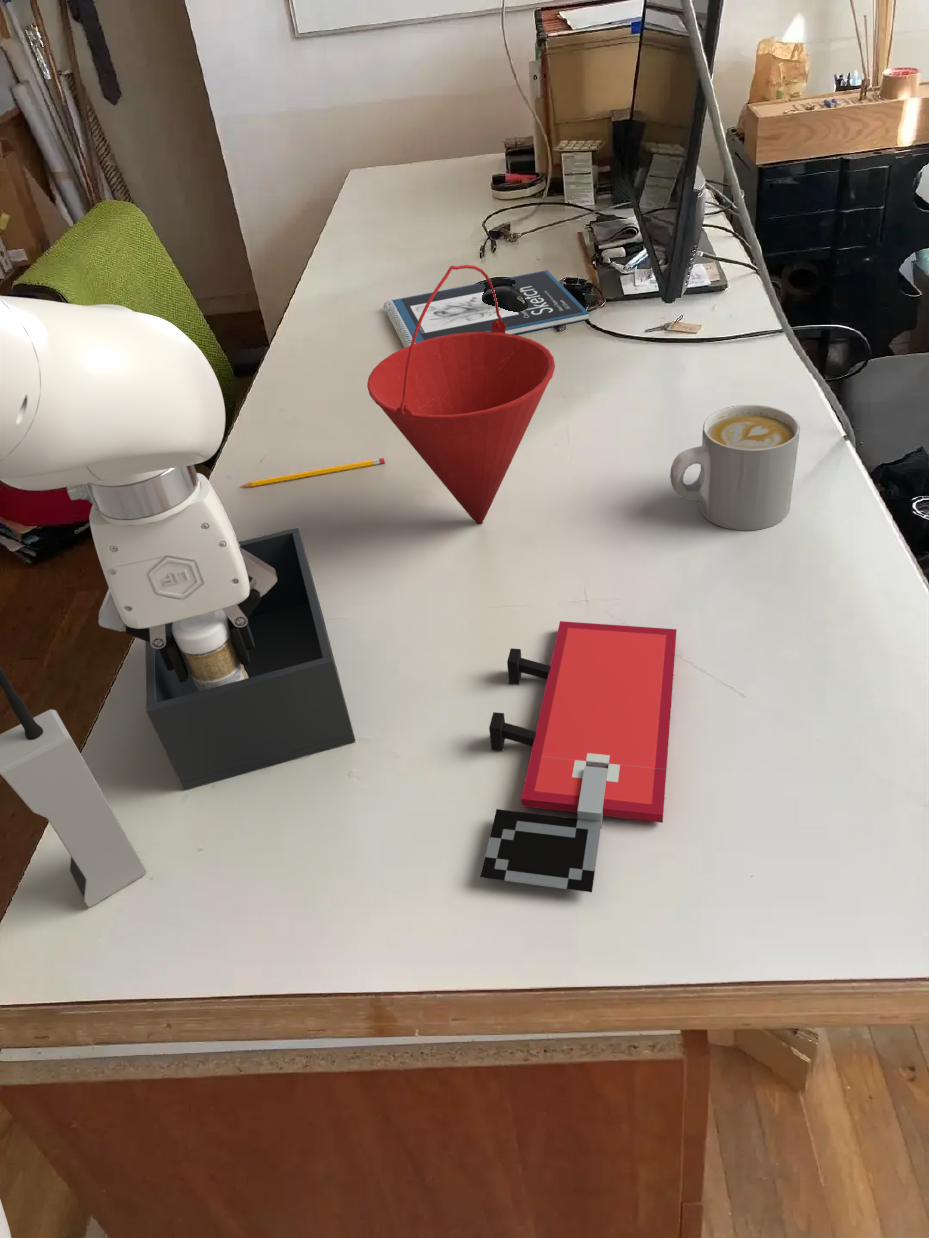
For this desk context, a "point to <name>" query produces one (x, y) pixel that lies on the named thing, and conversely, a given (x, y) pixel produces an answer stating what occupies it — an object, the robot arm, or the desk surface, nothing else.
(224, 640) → the sprinkles bottle
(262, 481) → the pencil
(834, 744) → the desk surface
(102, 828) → the vintage mobile phone
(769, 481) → the coffee mug
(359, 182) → the desk surface
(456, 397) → the fire bucket
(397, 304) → the sketchbook
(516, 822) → the red board with handle
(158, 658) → the wastebin
